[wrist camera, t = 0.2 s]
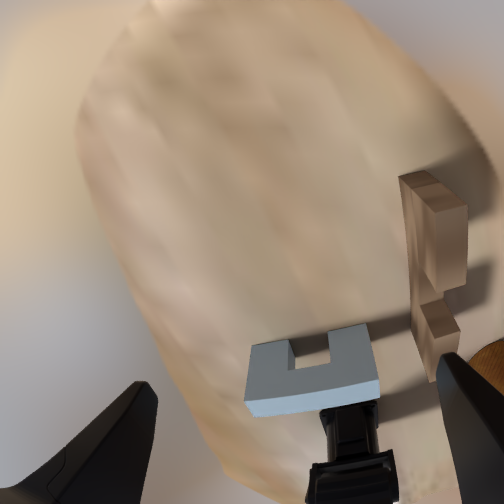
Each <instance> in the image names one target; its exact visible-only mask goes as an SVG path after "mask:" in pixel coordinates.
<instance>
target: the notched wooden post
mask: <svg viewBox="0 0 504 504" xmlns="http://www.w3.org/2000/svg"><path fill="white" fill-rule="evenodd" d="M398 178H399V184H400V191H401V197H402V205H403V212H404V220H405V229H406V239H407V250H408V262H409V278H410V300H411V332H412V334H413V337H414V340H415V342H416V345H417V348H418V351H419V354H420V356H421V359H422V362H423V365H424V368H425V371H426V374H427V377H428V380H429V383H431V382H434V381H436V370H437V366H438V363H439V359H440V356H441V355H442V354H444V353H448V352H455V353H456V354H457V350H458V344H459V338H460V332H461V331H460V329H459V327H458V325H457V323H456V321H455V319H454V317H453V315H452V313H451V311H450V310H449V308H448V306H447V304H446V302H445V300H444V299H443V298H444V291H446V290H449V289H452V288H456V287H459V286H462V285H465V284H466V275H467V255H468V205H467V204H466V203H465V202H464V201H462V200H461V199H460V198H459V197H458V196H457V195H455V194H454V193H453V192H452V191H450V190H449V189H448V188H447V187H445V186H444V185H443V184H442V183H440V182H439V181H438V180H437V179H435V178H434V177H433V176H431V175H430V174H429V173H428V172H426V171H421V172H416V173H412V174H407V175H403V176H398Z"/></svg>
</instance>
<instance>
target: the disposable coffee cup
mask: <svg viewBox="0 0 504 504" xmlns="http://www.w3.org/2000/svg"><path fill="white" fill-rule="evenodd" d="M468 364H469V365H470V366H471V367H473V368H474V369H475V370H476V371H477V372H478V373H479V374H481V375H482V376H483V377H484V378H485V379H486V380H487V381H488V382H490V383H491V384H492V385H493V386H494V387H495V388H496V389H497V390H498V391H500V392H501V393H502V394H503V395H504V341H498V342H495V343H492V344H490V345H488V346H486V347H485V348H483V349H482V350H480V351H479V352H478V353H477V354H476V355H475V356H474V357H473V358H472V359H471V360H470V361H469V363H468Z"/></svg>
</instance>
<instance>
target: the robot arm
mask: <svg viewBox="0 0 504 504" xmlns="http://www.w3.org/2000/svg"><path fill="white" fill-rule="evenodd" d="M436 381H437V386H438V392H439V397H440V403H441V409H442V415H443V421H444V425H445V429H446V433H447V437H448V440H449V444H450V448H451V452H452V457H453V461H454V465H455V470H456V474H457V479H458V484H459V489H460V494H461V500H462V504H504V395H503V394H502V393H501V392H500V391H498V390H497V389H496V388H495V387H494V386H493V385H492V384H491V383H490V382H488V381H487V380H486V379H485V378H484V377H483V376H482V375H481V374H479V373H478V372H477V371H476V370H475V369H474V368H473V367H471V366H470V365H469V364H468V363H467V362H466V361H465V360H463V359H462V358H461V357H460V356H459V355H458V354H456V353H455V352H448V353H444V354H442V355H441V356H440V359H439V363H438V366H437V370H436ZM157 407H158V398H157V395H156V394H155V392H154V391H153V389H152V388H151V386H150V385H149V383H148V382H146V381H135V382H134V383H132V384H131V385H130V386H129V387H128V388H127V389H126V390H125V391H124V392H123V393H122V394H121V395H120V396H119V397H117V398H116V399H115V400H114V401H113V402H112V403H111V404H110V405H109V406H108V407H107V408H106V409H105V410H104V411H102V412H101V413H100V414H99V415H98V416H97V417H96V418H95V419H94V420H93V421H92V422H91V423H90V424H89V425H88V426H87V427H85V428H84V429H83V430H82V431H81V432H80V433H79V434H78V435H77V436H76V437H74V438H73V439H72V440H71V441H70V442H69V443H68V444H67V445H66V447H63V449H61V450H60V451H59V452H58V453H57V454H56V455H55V456H53V457H52V458H51V459H50V460H49V461H48V462H46V463H45V464H44V465H43V466H41V467H40V468H39V469H37V470H36V471H35V472H33V473H32V474H30V475H29V476H28V477H26V478H25V479H24V480H23V481H21V482H19V483H18V484H16V485H14V486H11V487H8V488H0V504H140V501H141V495H142V491H143V486H144V481H145V477H146V472H147V468H148V463H149V458H150V454H151V450H152V445H153V440H154V432H155V424H156V415H157ZM319 416H320V419H321V422H322V425H323V428H324V430H325V433H326V436H327V452H328V462H325V463H313V464H312V469H310V479H309V486H308V490H307V493H306V497H305V503H306V504H393V502H398V501H399V486H398V478H397V472H396V466H395V460H394V455H393V450H392V449H390V450H388V451H385V452H379V444H378V437H377V430H376V429H377V428H378V408H377V402H376V401H371V402H366V403H361V404H356V405H351V406H346V407H341V408H335V409H330V410H324V411H321V412H320V413H319Z"/></svg>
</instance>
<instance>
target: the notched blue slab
mask: <svg viewBox="0 0 504 504" xmlns="http://www.w3.org/2000/svg"><path fill="white" fill-rule="evenodd" d="M328 340H329V349H330V359H331V363H328V364H323V365H318V366H312V367H307V368H301V369H295V356H294V353H293V351H292V348H291V345H290V343H289V340H282V341H277V342H271V343H265V344H259V345H253V346H252V347H251V354H250V362H249V369H248V376H247V383H246V390H245V397H244V402H245V404H246V405H247V407H248V409H249V410H250V412H251V413H252V415H253V416H254V417H265V416H275V415H284V414H292V413H299V412H306V411H313V410H319V409H326V408H331V407H337V406H342V405H348V404H353V403H358V402H362V401H367V400H372V399H376V398H380V389H379V378H378V373H377V368H376V364H375V359H374V355H373V351H372V346H371V342H370V338H369V334H368V330H367V326H366V323H364V324H360V325H356V326H351V327H347V328H342V329H338V330H333V331H328Z"/></svg>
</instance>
